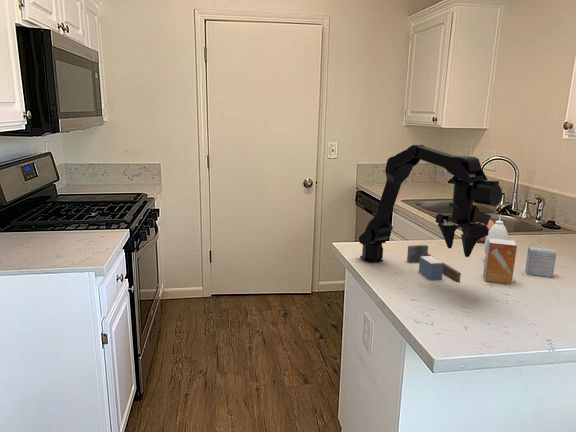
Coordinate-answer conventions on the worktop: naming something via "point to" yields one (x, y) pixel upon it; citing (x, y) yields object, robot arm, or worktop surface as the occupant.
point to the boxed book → (431, 267)
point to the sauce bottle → (497, 232)
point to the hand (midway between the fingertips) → (458, 252)
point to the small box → (499, 260)
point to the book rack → (422, 250)
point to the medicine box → (540, 262)
